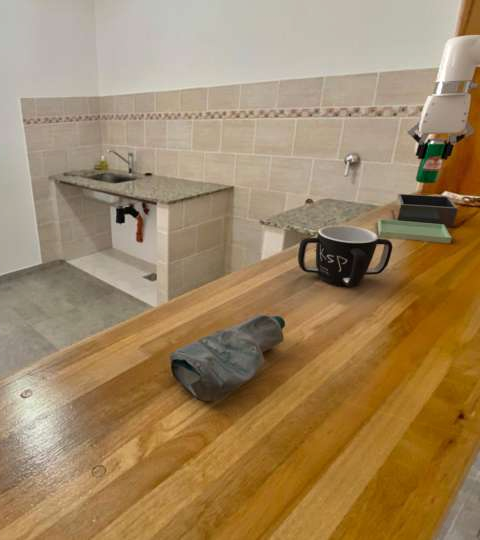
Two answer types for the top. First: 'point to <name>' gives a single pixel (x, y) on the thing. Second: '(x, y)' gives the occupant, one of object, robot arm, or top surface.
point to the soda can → (431, 160)
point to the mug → (344, 254)
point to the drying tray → (414, 231)
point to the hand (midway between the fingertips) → (432, 158)
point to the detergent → (226, 356)
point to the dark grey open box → (425, 209)
